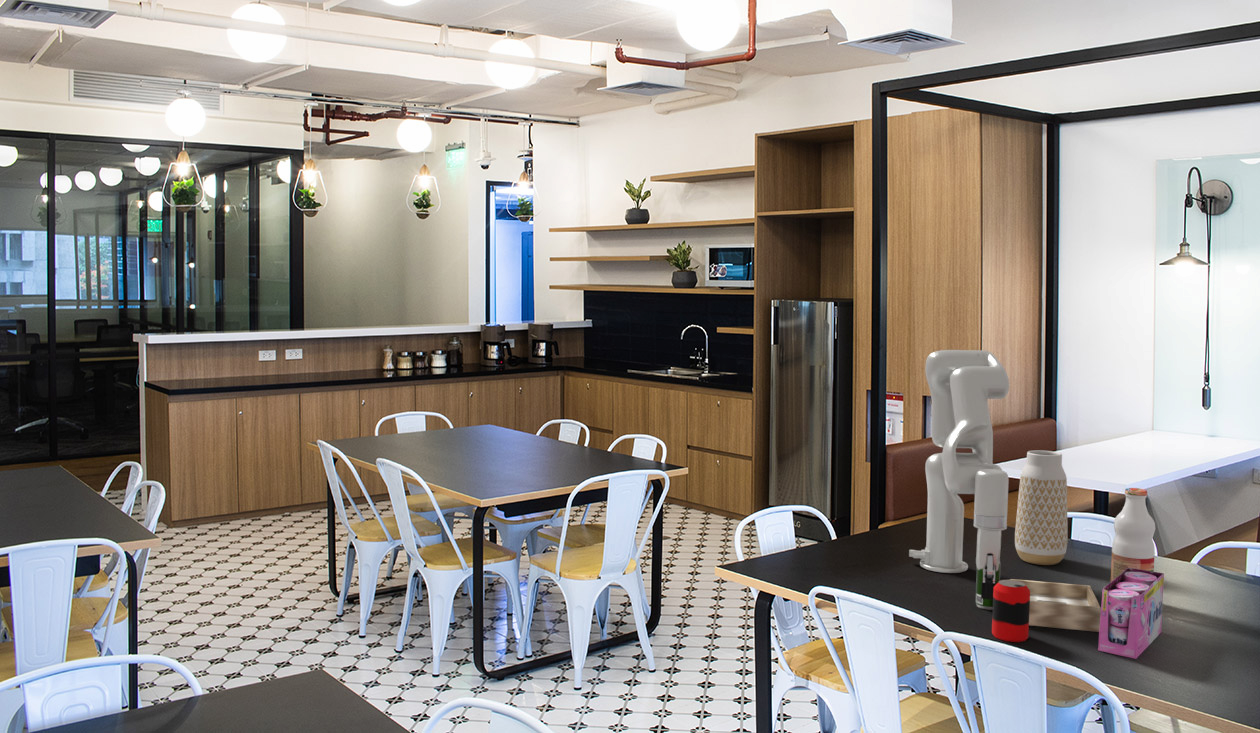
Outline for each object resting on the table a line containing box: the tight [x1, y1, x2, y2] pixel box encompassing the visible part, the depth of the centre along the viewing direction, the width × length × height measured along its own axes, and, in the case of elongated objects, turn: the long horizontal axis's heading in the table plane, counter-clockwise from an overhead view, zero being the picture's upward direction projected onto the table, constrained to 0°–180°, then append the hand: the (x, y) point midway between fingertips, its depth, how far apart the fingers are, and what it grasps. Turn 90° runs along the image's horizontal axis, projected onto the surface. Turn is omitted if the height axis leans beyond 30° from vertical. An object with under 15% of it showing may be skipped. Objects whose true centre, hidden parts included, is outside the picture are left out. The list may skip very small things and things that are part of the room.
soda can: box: [991, 579, 1030, 643], centre depth 230 cm, size 8×8×12 cm
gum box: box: [1097, 568, 1165, 660], centre depth 227 cm, size 24×8×14 cm, turn 141°
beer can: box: [975, 560, 1002, 611], centre depth 251 cm, size 5×5×12 cm
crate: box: [1009, 578, 1101, 633], centre depth 245 cm, size 18×18×6 cm
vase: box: [1014, 449, 1069, 566], centre depth 292 cm, size 14×14×31 cm
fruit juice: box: [1110, 487, 1156, 582], centre depth 255 cm, size 9×9×28 cm
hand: (987, 594), depth 251 cm, fingers closed on beer can, 5 cm apart
